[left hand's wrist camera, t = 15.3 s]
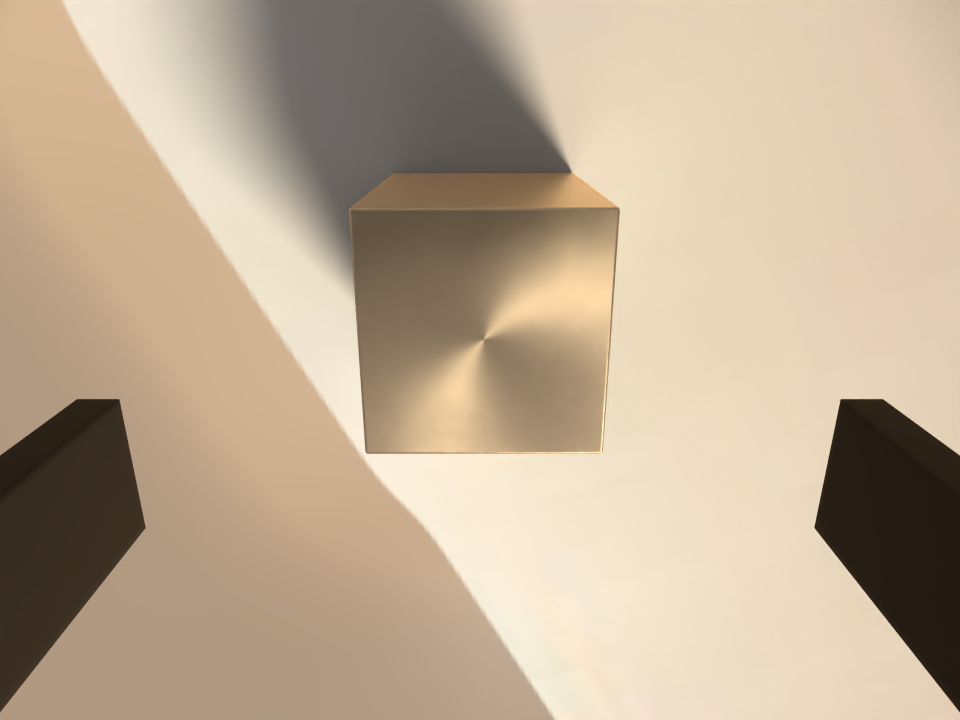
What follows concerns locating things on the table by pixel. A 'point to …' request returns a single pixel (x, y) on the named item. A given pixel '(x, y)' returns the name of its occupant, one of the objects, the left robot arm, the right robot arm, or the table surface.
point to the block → (484, 312)
